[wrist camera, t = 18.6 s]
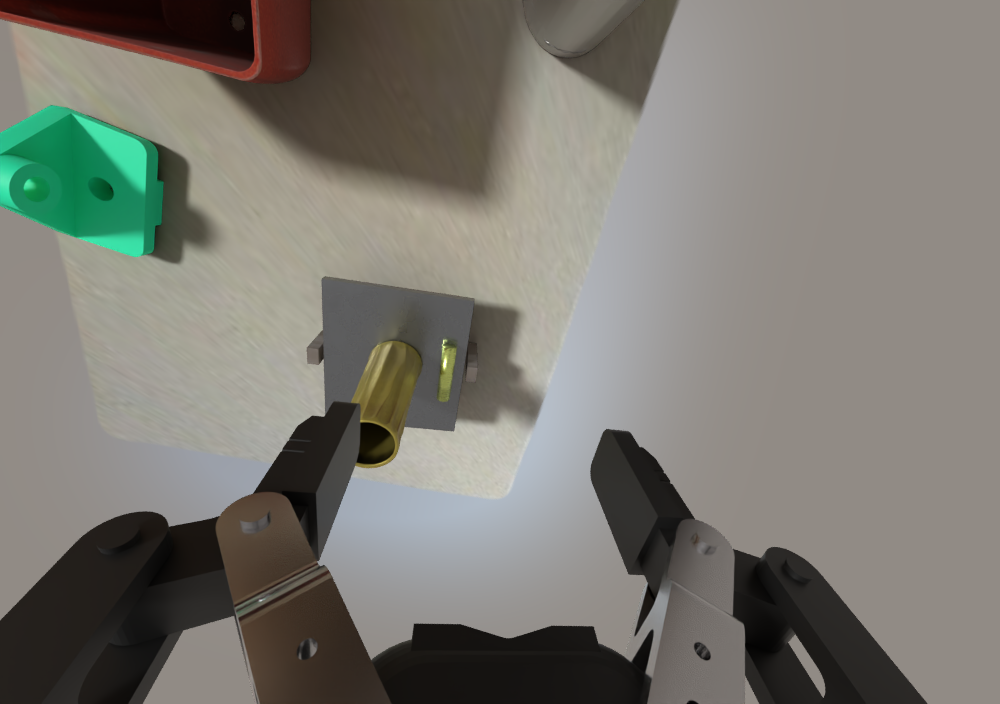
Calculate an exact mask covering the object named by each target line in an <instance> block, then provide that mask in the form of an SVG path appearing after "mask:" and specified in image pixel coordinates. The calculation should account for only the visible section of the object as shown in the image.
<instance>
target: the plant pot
mask: <svg viewBox="0 0 1000 704" xmlns="http://www.w3.org/2000/svg"><path fill="white" fill-rule="evenodd" d="M234 11H236V12H239V13H240V14H241V15H242V17H243V18H244V21H245V27H244V29H243V30H241V31H237V30H235V29H234V28H233V27H232V26H231V25H230V22H229V16H231V13H232V12H234ZM0 19H2V20H6V21H10V22H14V23H18V24H22V25H26V26H30V27H34V28H38V29H42V30H46V31H50V32H54V33H58V34H62V35H66V36H70V37H74V38H78V39H82V40H86V41H90V42H94V43H98V44H102V45H106V46H110V47H114V48H118V49H122V50H126V51H130V52H134V53H138V54H142V55H146V56H150V57H154V58H158V59H162V60H166V61H170V62H174V63H178V64H182V65H185V66H189V67H193V68H197V69H201V70H204V71H208V72H212V73H216V74H219V75H223V76H227V77H230V78H234V79H238V80H242V81H247V82H253V83H263V84H276V83H283V82H288V81H292V80H294V79H296V78H298V77H299V76H300V75H302V74H303V73H304V72H305V70H306V69H307V68H308V66H309V63H310V60H311V0H0Z"/></svg>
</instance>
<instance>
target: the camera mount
mask: <svg viewBox="0 0 1000 704" xmlns="http://www.w3.org/2000/svg"><path fill="white" fill-rule="evenodd" d="M157 174H158V151H157V149H156V147H155V146H154V145H153V144H152V143H151V142H150V141H148V140H146V139H144V138H141V137H139V136H136V135H134V134H131V133H129V132H126V131H124V130H121V129H119V128H116V127H114V126H112V125H109V124H107V123H104V122H102V121H99V120H97V119H94V118H92V117H89V116H87V115H84V114H82V113H79V112H77V111H74V110H72V109H69V108H66V107H60V106H53V105H51V106H49V107H47V108H45V109H43V110H41V111H40V112H38V113H36V114H34V115H32V116H30V117H28V118H27V119H25V120H23V121H21V122H20V123H18V124H16V125H14V126H12V127H10V128H8V129H6V130H5V131H3V132H1V133H0V206H1V207H4V208H6V209H8V210H10V211H13V212H15V213H17V214H20V215H22V216H24V217H26V218H29V219H31V220H33V221H35V222H38V223H40V224H42V225H45V226H47V227H49V228H51V229H54V230H56V231H58V232H61V233H64V234H67V235H70V236H73V237H76V238H79V239H82V240H85V241H88V242H91V243H94V244H97V245H100V246H103V247H106V248H109V249H112V250H115V251H118V252H121V253H124V254H127V255H130V256H133V257H138V256H142V255H146V254H150V253H152V252H153V250H154V240H155V226H157V225H161V222H162V203H163V184H164V182H163V181H161V180H158V179H157ZM109 184H110V185H111V187H112V189H113V192H114V193H113V192H112V190H111V188H110V185H109Z"/></svg>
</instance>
